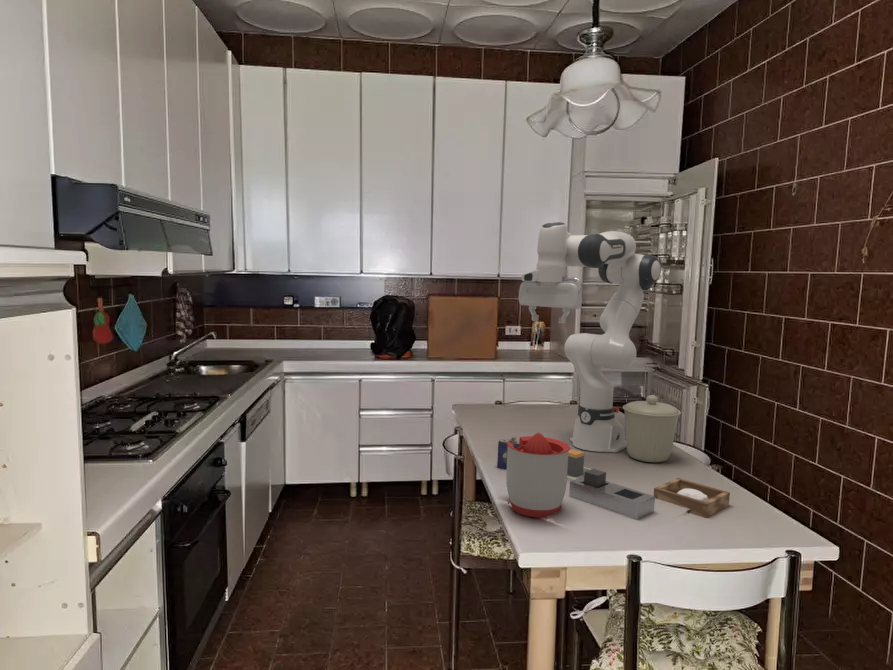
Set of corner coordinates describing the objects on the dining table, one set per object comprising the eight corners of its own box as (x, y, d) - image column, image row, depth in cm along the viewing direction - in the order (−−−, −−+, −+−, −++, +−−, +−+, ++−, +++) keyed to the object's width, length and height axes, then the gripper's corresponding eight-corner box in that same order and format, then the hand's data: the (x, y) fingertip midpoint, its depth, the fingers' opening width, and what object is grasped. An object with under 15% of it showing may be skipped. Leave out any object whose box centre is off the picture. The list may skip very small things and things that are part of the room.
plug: (571, 472, 186) (573, 449, 186) (583, 475, 184) (584, 452, 183) (563, 474, 184) (564, 451, 183) (574, 478, 181) (576, 454, 180)
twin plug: (591, 494, 167) (593, 468, 167) (604, 498, 164) (606, 472, 164) (583, 497, 165) (584, 471, 164) (595, 501, 162) (597, 475, 161)
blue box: (528, 470, 188) (529, 436, 187) (527, 473, 185) (528, 438, 184) (497, 467, 190) (498, 433, 189) (496, 470, 187) (497, 435, 186)
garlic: (712, 505, 165) (713, 491, 165) (701, 511, 161) (702, 497, 160) (683, 497, 171) (684, 483, 171) (672, 502, 166) (673, 489, 166)
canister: (681, 469, 195) (686, 402, 193) (621, 463, 198) (625, 398, 196) (672, 453, 212) (677, 392, 210) (617, 448, 216) (621, 388, 214)
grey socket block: (586, 492, 171) (587, 475, 170) (653, 515, 156) (655, 496, 156) (568, 499, 166) (569, 481, 165) (637, 523, 151) (638, 503, 151)
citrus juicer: (519, 492, 170) (523, 420, 167) (577, 509, 159) (581, 432, 157) (485, 508, 158) (489, 430, 155) (545, 528, 147) (550, 445, 144)
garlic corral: (677, 489, 176) (678, 477, 175) (728, 505, 165) (729, 492, 165) (653, 500, 167) (654, 488, 166) (706, 517, 156) (707, 504, 156)
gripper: (587, 277, 184) (584, 324, 186) (527, 275, 197) (525, 319, 199) (576, 277, 180) (574, 325, 181) (517, 275, 192) (514, 319, 194)
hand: (548, 322), depth 190 cm, fingers open, 8 cm apart
